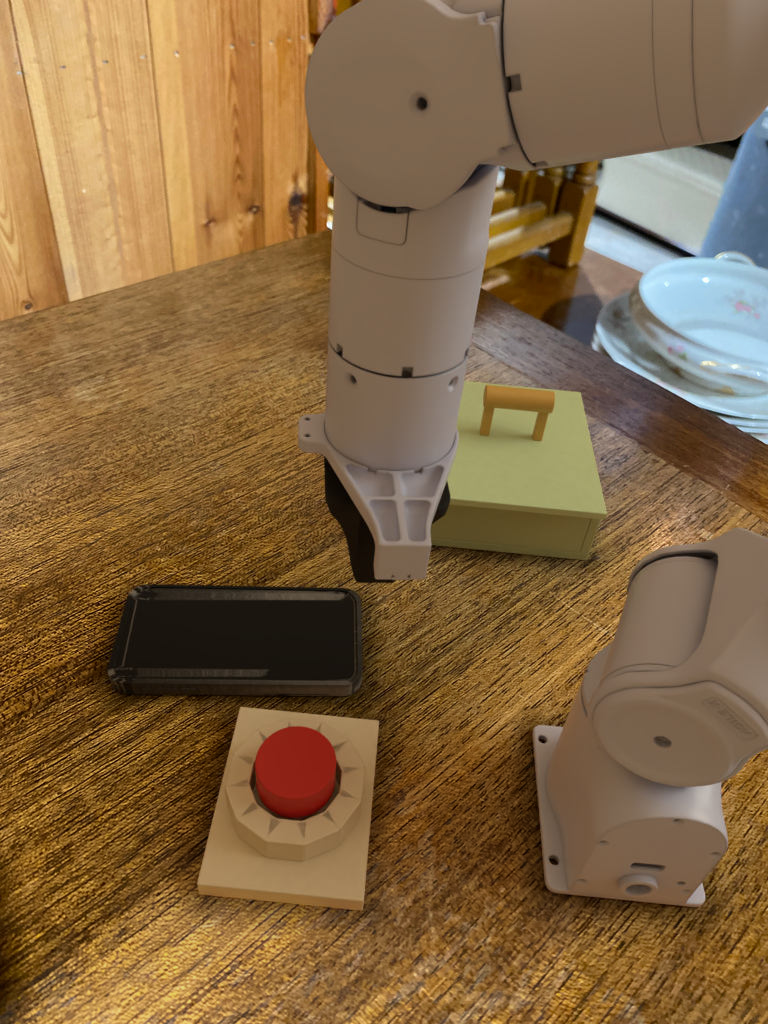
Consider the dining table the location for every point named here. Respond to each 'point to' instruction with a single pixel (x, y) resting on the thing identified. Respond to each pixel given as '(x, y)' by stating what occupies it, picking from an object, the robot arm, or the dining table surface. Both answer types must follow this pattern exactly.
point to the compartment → (515, 532)
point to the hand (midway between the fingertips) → (374, 573)
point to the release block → (293, 821)
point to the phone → (238, 641)
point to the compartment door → (525, 452)
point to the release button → (295, 771)
